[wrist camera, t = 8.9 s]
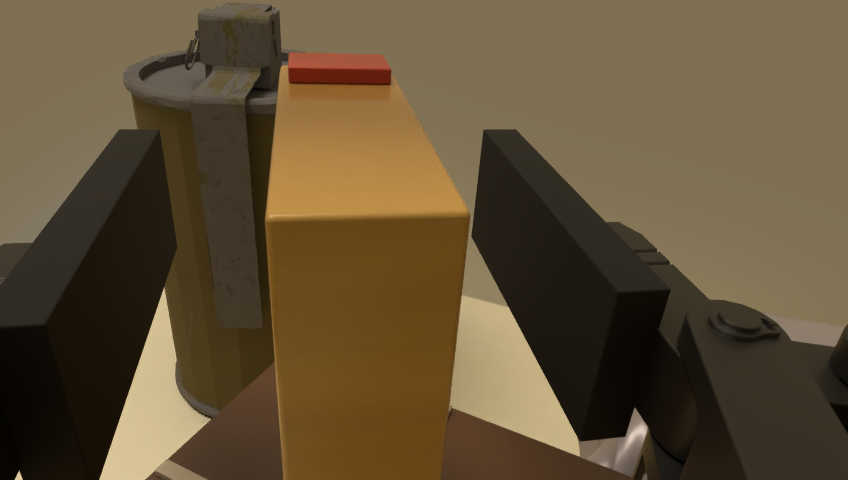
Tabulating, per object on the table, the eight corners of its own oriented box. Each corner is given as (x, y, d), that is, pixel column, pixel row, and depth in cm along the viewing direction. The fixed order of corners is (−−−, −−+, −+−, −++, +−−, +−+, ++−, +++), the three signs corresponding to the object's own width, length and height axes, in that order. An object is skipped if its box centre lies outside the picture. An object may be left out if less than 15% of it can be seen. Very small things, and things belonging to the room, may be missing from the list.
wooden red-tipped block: (415, 717, 10) (475, 185, 5) (300, 738, 9) (261, 190, 5) (376, 449, 14) (390, 52, 10) (299, 457, 14) (279, 49, 10)
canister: (201, 309, 40) (157, -11, 31) (358, 311, 41) (361, 0, 32) (147, 433, 31) (59, 25, 21) (352, 432, 32) (354, 40, 22)
